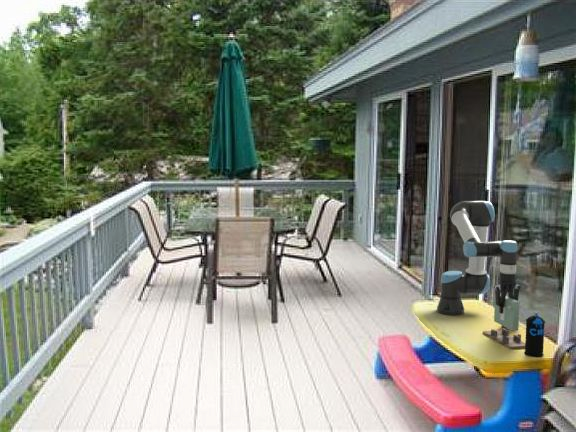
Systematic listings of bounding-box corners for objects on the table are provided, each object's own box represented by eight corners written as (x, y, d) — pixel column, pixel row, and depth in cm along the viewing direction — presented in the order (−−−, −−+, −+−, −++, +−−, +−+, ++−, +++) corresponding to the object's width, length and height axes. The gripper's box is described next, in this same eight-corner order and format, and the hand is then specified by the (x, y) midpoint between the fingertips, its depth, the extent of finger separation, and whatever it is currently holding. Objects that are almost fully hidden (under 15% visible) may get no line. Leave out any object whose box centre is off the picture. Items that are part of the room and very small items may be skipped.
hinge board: (482, 333, 300) (483, 325, 299) (500, 332, 302) (500, 324, 301) (510, 349, 276) (510, 340, 276) (529, 347, 278) (529, 339, 278)
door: (491, 321, 295) (492, 294, 294) (499, 320, 296) (500, 293, 294) (510, 330, 280) (511, 302, 278) (518, 330, 280) (519, 301, 279)
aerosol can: (520, 351, 274) (522, 309, 271) (537, 350, 274) (539, 309, 272) (529, 357, 266) (531, 314, 263) (547, 356, 266) (549, 314, 264)
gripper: (497, 274, 280) (495, 322, 282) (527, 273, 283) (525, 320, 286) (488, 271, 287) (487, 318, 290) (518, 270, 290) (516, 316, 293)
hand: (506, 319), depth 288 cm, fingers closed on door, 3 cm apart
